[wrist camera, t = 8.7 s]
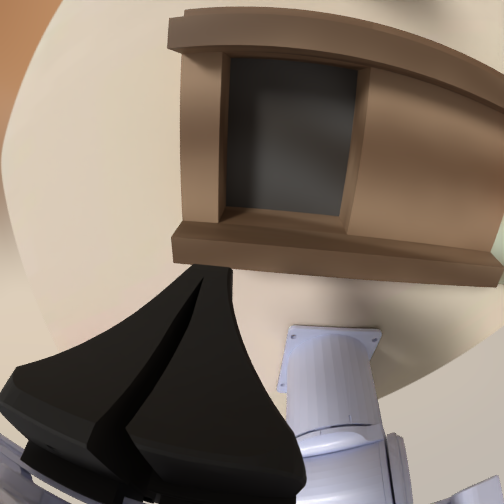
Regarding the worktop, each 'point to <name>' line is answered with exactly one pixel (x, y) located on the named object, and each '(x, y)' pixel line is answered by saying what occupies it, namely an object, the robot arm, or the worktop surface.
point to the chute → (336, 149)
